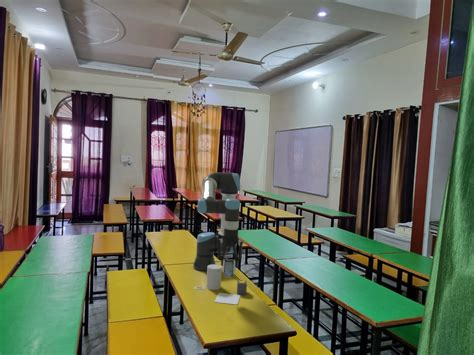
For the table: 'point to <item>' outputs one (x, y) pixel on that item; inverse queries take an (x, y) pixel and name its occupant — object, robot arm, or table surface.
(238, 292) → the relay block
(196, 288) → the label card
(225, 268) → the cylinder
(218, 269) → the cup
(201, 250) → the robot arm
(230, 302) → the mat
